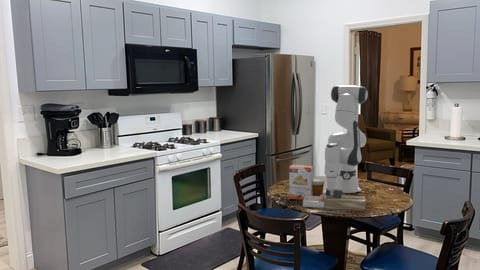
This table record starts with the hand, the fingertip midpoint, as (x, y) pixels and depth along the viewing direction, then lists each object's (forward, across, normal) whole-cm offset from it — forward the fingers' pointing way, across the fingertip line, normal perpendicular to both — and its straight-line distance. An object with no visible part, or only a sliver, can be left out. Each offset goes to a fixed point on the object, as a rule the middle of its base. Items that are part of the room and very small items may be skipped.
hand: (332, 194), depth 234 cm
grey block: (+1, 0, 0) cm, 1 cm away
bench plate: (+7, 0, +8) cm, 10 cm away
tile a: (+4, -2, -5) cm, 7 cm away
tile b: (+4, +3, -5) cm, 7 cm away
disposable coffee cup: (+7, -12, -10) cm, 17 cm away
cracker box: (+7, -10, -19) cm, 22 cm away
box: (+7, 0, -10) cm, 12 cm away
